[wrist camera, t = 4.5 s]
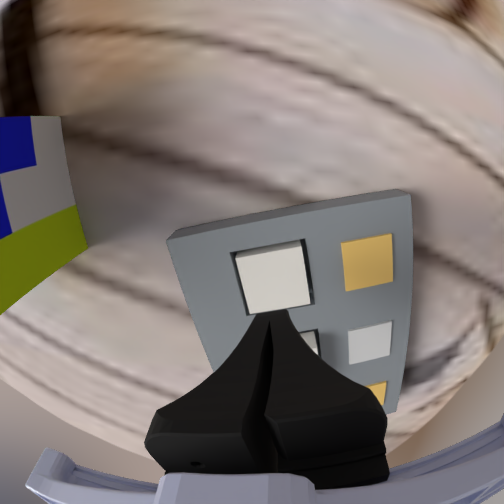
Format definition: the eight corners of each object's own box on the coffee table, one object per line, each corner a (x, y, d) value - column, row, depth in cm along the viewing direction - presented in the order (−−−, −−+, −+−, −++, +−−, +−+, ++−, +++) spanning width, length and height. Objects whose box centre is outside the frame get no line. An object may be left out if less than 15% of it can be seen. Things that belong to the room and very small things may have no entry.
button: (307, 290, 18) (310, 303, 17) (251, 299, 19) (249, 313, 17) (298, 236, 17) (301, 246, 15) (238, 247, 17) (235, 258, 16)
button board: (390, 396, 22) (396, 413, 20) (244, 421, 24) (243, 439, 22) (396, 188, 16) (412, 195, 14) (176, 230, 18) (164, 241, 16)
